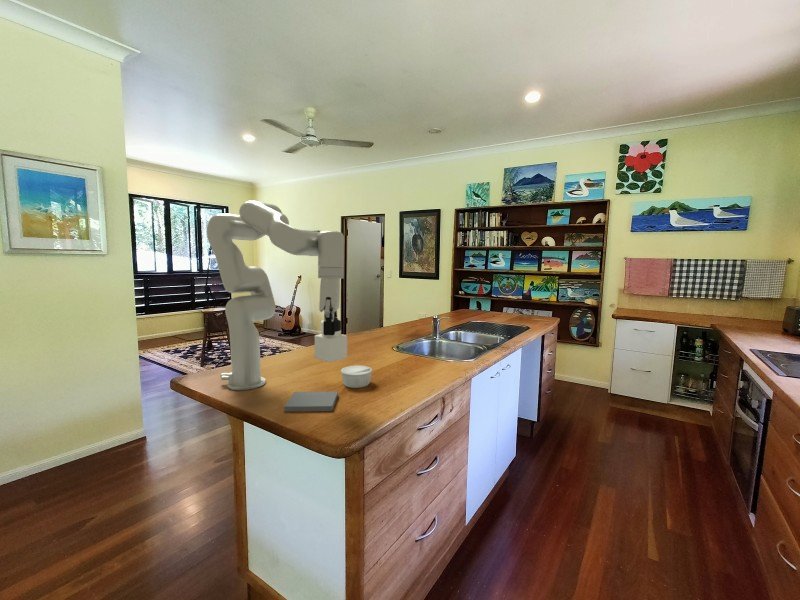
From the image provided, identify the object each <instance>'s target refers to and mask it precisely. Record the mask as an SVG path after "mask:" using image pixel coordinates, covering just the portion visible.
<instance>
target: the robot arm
mask: <svg viewBox="0 0 800 600" xmlns="http://www.w3.org/2000/svg"><path fill="white" fill-rule="evenodd" d="M238 212H239V214H233V213H218V214H215V215H213V216H211V217H210V219H209V220H208V223H207V226H206V237H207V240H208V242H209V245H210V248H211V249H212V251H213V253H214V256H215V259H216V264H217V267H218V271H219V275H220V279H221V282H222V284H223V288H224V290H225V291H226V292H227V293H229V294H243V293H246V294H247V293H250V294H249V295H239V296H236V297H233V298H230V300H227V303H226V305H225V309H224V310H225V316H226V317H225V318H226V320H227V324H228V330H229V343H230V344H229V345H230V366H231V367H230V369H231V372H229V373H228V372H222V373H221V374H220V381H228V382H227V384H226V385H227V388H228V389H230V390H233V391H246V390H253V389H256V388H260V387H262V386H264V385H265V384H266V382H267V381H266V379H267V378H265V377H263V376H262V369H261V367H262V366H261V344H260V343H261V342H260V334H259V330H258V328H257V327H256V326H255V324H254V323H255V322H260V321H266V320H269V319H272V317H273V316H274V315H275V313H276V301H275V298H274V294H273V291H272V287H271V283H270V280H269V276H268V275H267V273H266V271H265V270H264V269H263V268H261V267H259V266H254V265H253V266H249V265H248V266H247V265H246V263H245V261H244V256H243V253H242V251H241V250H240V248H239V247H238V246H237V244H236V243H234V242H233V240H238V241H257V240H259V239H261V238H263V237H265V236H267V237H269V240H270V242H271V243H272V245H274V246H275V247H277V248H279V249H280V250H282V251H284V252H286V253H289V254H290V255H294V256H307V257H317V278H318V279H320V283H319V284H320V285H319V303H318V305H319V307H318V310H319V312H321V313H322V312H323V313H324V314H323V320H324V335H334V334H335V322H334V319H338V320H339V318H338V310H339V308H340V304H341V303H340V302H341V301H340V299H341V297H340V296H341V280H342V279H343V280H344V279H345V278H344V277H345V275H344V274H345V271H344V269H345V267H344V265H345V236H344V234H343V232H341V231H336V230H335V231H334V230H322V231H315V230H314V231H313V230H309V229H308V230H306V229H298V228H295V227H293V226H291V225H290V221H289V218H288V216H287V215H286V214H285V213H283V211H282V209H280V207H278V206H277V205H275V204H273V203H268V202H264V201H263V202H262V201H258V200H248V201H245V202H243V203H242V204H241V205H240V207H239V211H238Z"/></svg>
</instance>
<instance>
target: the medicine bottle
mask: <svg viewBox="0 0 800 600" xmlns="http://www.w3.org/2000/svg"><path fill="white" fill-rule="evenodd" d="M334 322H335V334H334V335H324V319H322V320H321V321H320V334H315V335H314V359H317V360H319V361H324V362H327V363H333V362H337V361H340V360H344V359H348V335H346V334H343V333H342V321H341V319H339V318H338V319H334Z"/></svg>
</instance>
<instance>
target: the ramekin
mask: <svg viewBox="0 0 800 600" xmlns="http://www.w3.org/2000/svg"><path fill="white" fill-rule="evenodd" d="M372 373H373V368H372V367H369V366H368V365H361V364H360V365H359V364H358V365H350V366H349V365H348V366H345V367H343V368H341V369H340V374H341V379H342V384H343V385H344V386H345V387H347V388H351V389H359V388H360V389H361V388H364V387H367V386H369V384H370V383H371V380H372Z"/></svg>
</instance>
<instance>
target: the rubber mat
mask: <svg viewBox="0 0 800 600" xmlns="http://www.w3.org/2000/svg"><path fill="white" fill-rule="evenodd" d="M338 397H339V391H337V390H336V391H294V392H293V394H292V395H291V396H290V398H289V399H288V400H287V402H286V403H285V404H284V406H283V412H285V413H286V412H332V411H333V410H334V408H335V405H336V403H337V400H338Z"/></svg>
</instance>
